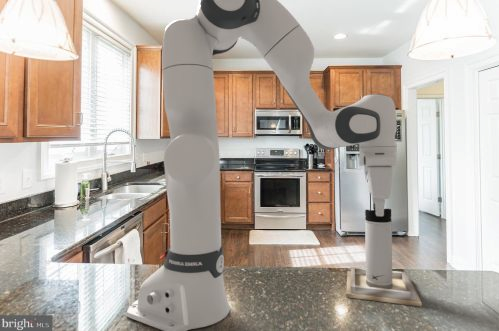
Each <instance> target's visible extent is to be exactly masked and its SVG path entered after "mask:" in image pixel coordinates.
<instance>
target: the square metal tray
mask: <svg viewBox="0 0 499 331" xmlns="http://www.w3.org/2000/svg"><path fill="white" fill-rule="evenodd" d="M346 276H347V277H346V292H345V295H346V296H345V298H350V299H359V300H366V301H367V300H368V301H375V302H382V303H391V304H399V305H406V306H412V307H413V306H414V307H415V306H416V307H421V308H422V305H423V303H422V301H421V299H420V296H419V294H418V293H417V290H416V289H415V286H414V285H413V282H412V280H411V278H410V276H408V275H407V272H406V271H396V270H392V282H393V286H392V288H390V289H384V288H375V287H370V286H368V285H367V284H366V267H365V268H363V267H352V266H351V267H350V270H347V274H346Z"/></svg>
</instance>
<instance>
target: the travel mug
mask: <svg viewBox="0 0 499 331" xmlns="http://www.w3.org/2000/svg"><path fill="white" fill-rule="evenodd" d="M364 216H365V217H364V218H365V219H364V227H365V229H364V230H365V231H364V232H365V235H364V236H365V238H364V239H365V240H364V241H365V242H364V243H365V246H364V247H365V268H366V284H367V285H368V286H370V287H375V288H384V289H390V288H392V286H393V282H392V271H393V231H392V230H393V228H392V227H393V226H392V225H393V224H392V209H391V208H384V216H376V214H375V209H365V211H364Z"/></svg>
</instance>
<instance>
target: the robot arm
mask: <svg viewBox="0 0 499 331" xmlns="http://www.w3.org/2000/svg"><path fill="white" fill-rule="evenodd" d="M198 1H199V2H198V6H197V10H196V14H195V15H194V17H192V18H190V19H189V18H188V19H187V18H180V19H177V20H176V19H175V20H173V21H172V22H170V23H169V24H168V25H167V26H166V27H165V29H164V33H163V38H162V50H161V70H162V86H163V100H164V111H165V116H166V119H167V125H168V130H169V137H170V142H169V143H168V145H166V148H165V151H164V154H163V165H164V177H165V187H166V195H167V203H168V210H169V231H170V232H169V233H170V234H169V235H170V237H169V238H170V241H169V242H170V243H169V244H170V247H169V248H167V249H166V250H165V251H163V252H162V253H159V256H160V257H159V259H160V260H162V259H164V258H165V260H164V262H163V265H162V266H161V267H159V268H158V269H156V271H154V272H153V273H152V274H150V276H149V277H147V278H145V280H144V281H143V282H142V283H141V285H140V287H139V291H138V296H137V300H135V301H134V302H133V303H132V304H131V305H129V307H127V311H126V317H127V318H129V319H132V320H135V321H137V322H140V323H143V324H145V325H147V326H150V327H153V328H155V329H158V330H161V331H189V330H192V329H193V330H194V329H199V328H205V327H208V326H211V325H214V324H217V323H219V322H221V321H222V320H223V319H225V318H226V317H227V316H228V314H229V313H230V309H231V306H230V304H229V300H228V297H227V294H226V288H225V281H224V267H225V260H224V259H225V258H224V246H223V245H222V228H221V227H222V220H221V209H222V208H221V174H220V173H221V171H220V170H221V168H220V167H221V164H220V163H221V161H220V160H221V159H220V148H219V147H220V146H219V133H218V132H219V131H218V118H217V117H218V116H217V103H216V90H215V76H214V64H213V56H215V55H221V54H224V53H226V52H229V51H231V50H232V49H233V48H234V47H235V45H236V44H237V43H238V40H239V38H240V39H242V40H245V41H247V42H249V43H250V44H251V45H253V47H255V48H256V49H257V52H259V54H260V55H261V56H262V58H263V59H264V60H265V61H266V63H267V64H268V66H269V67H270V69H272V71H273V72H274V74H275V75H276V76H277V78H278V80H279V82H280V84H281V85H282V87H283V89H284V90H285V92H286V94H287V95H288V97H289V98H290V100H291V102H292V103H293V104H294V106H295V107H296V109H297V110H298V112H299V114H300V115H301V116H302V118H303V120H304V121H305V123H306V126H307V127H308V130H309V131H308V132H309V133H310V137H311V139H312V141H313V143H314V144H315V145H316V146H317V147H318V148H320V149H323V150H327V151H329V150H334V149H338V148H344V147H350V146H356V145H359V146H358V149H359V151H358V152H359V154H358V155H359V158H358V159H359V162H358V164H359V165H358V166H360V167H361V166H363V167H364V172H365V173H368V192H369V193H370V195H371V199H372V210H374V209H375V214H376V216H384V209H385V205H386V200H389V199H390V196H391V191H392V185H393V183H392V182H393V167H395V166H397V165H398V157H397V156H398V155H397V154H398V149H397V148H398V146H397V143H396V133H397V129H398V128H397V121H398V120H397V112H396V105H395V102H394V100H393V98H392V97H390V96H389V95H386V94H381V93H375V94H374V93H372V94H366V95H364V96H362V98H361V99H359V100H358V101H356V102H354V103H352V104H350V105H347V106H344V107H340V108H339V109H335V110H334V111H330V110H328V109H327V107H325V106H324V104H323V103H322V101H321V100H320V97H318V95H317V93H316V92H315V90H314V88H313V87H312V84H311V82H310V80H311V79H310V73H311V69H312V66H313V63H314V58H315V48H314V47H315V46H314V45H313V43H312V40H311V39H310V37H309V35H308V34H307V32H306V31H305V29H304V28H303V27H302V25H301V24H300V23H299V22H298V20H297V19H296V18H295V17H294V15H293V14H292V13H291V12H290V11H289V10H288V9H287V8H286V7H285V6H284V5H283V4H282V3H281V2H280V1H279V0H198Z"/></svg>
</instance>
